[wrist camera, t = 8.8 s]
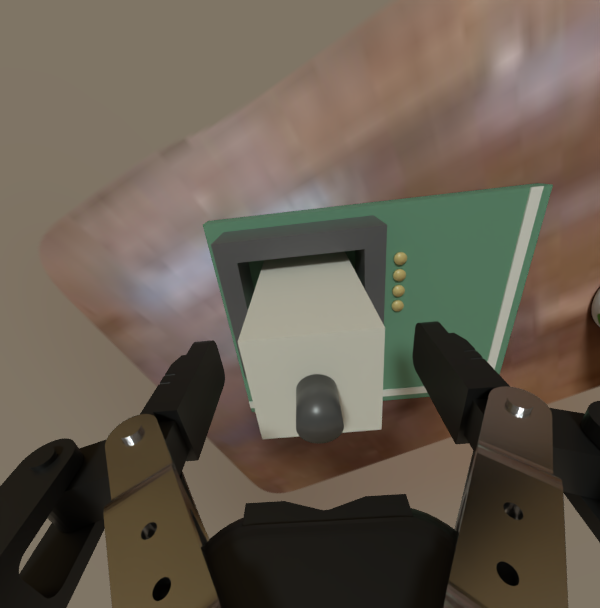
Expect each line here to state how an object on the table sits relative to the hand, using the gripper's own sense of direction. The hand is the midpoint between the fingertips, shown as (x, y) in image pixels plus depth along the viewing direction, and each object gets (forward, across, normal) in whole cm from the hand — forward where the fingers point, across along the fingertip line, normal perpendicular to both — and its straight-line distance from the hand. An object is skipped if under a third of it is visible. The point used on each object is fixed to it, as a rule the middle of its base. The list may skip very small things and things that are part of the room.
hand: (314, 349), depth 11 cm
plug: (+6, 0, 0) cm, 6 cm away
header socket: (+6, -1, +1) cm, 6 cm away
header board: (+7, -4, +3) cm, 8 cm away
